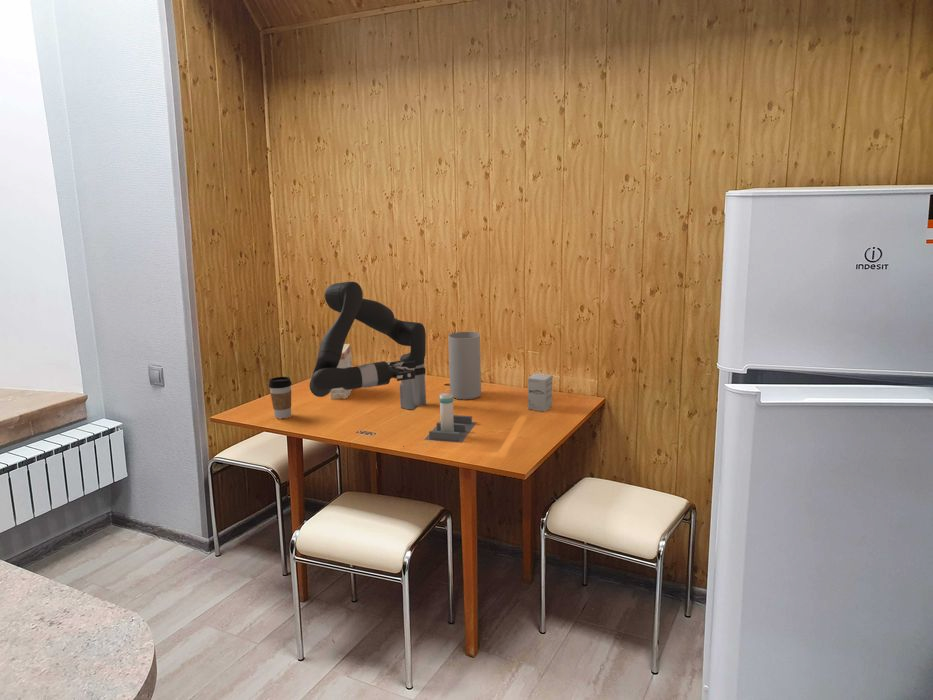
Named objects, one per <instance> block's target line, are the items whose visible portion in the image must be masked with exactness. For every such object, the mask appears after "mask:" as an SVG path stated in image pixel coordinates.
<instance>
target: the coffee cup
mask: <svg viewBox="0 0 933 700" xmlns="http://www.w3.org/2000/svg"><path fill="white" fill-rule="evenodd" d="M268 387H269V390H270V398H271V403H272V409H273V414H274V418H275V417H276V418H286V419H289V418H291V417H292V389H291V388H292V381H291V378H290V377H288V376H276V377H273V378H270V379H268ZM290 416H291V417H290ZM288 417H289V418H288ZM276 418H275V419H276Z"/></svg>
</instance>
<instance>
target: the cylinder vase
mask: <svg viewBox="0 0 933 700" xmlns="http://www.w3.org/2000/svg"><path fill="white" fill-rule="evenodd" d="M447 338H448V361H449V362H448V363H449V364H448V365H449V391H450V392H449V393H452V394H453V399H455V398H456V400H461V399H462V400H464V401H465V400H466V401H467V399H468V400H474V399H477V398H479V397H481V395H482V371H481V370H482V369H481V368H482V367H481V363H482V361H481V334H480V333H478V332H475V331H457V332H451V333H449V334H448V337H447Z"/></svg>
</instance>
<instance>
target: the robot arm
mask: <svg viewBox="0 0 933 700" xmlns="http://www.w3.org/2000/svg"><path fill="white" fill-rule="evenodd" d="M363 293H364V291H363V289H362V287H361V285H360V284H359V283H358V282H357V281H343V282H335V283H333V284H330V285H329V286H327V288H325V291H324V299H325V303H326V304H327V306H328V307H329V308H330V309H331V310H333V311H334V312H338V313H339V315H338V317H337V319H336V320H335V322H334V323H333V324H332V325H331V327H329V329H328V331H326V333H325V335H324V336H323V338H322V340H321V342H320V347H319V349H318V354H317V359H316V363H315V366H314V369H313V372H312V376H311V379H310V381H309V390H310V391H311V393H312V395H314V396H315V397H318V398H323V397H325V396H328V395H329V394H331V393H330V391H331V390H332V389H334V388H343V389H345V390H351V389H353V390H356V389H362V388H363V389H366V388H372V387H380V386H386V385H389V384H390V382H391V379H394V380H395V379H396V381H397V382H400V383H399V399H400V401H399V402H400V403H399V404H400V408H402V409H406V410H416V409H417V408H419V407H420V406H423V407H425V406H427V393H426V391H427V389H426V386H427V385H426V373H427V372H426V367H425V365H426V364H425V357H426V351H427V349H426V348H427V347H426V340H427V339H426V338H427V337H426V334H427V333H426V329H425V325H424V324H423V323H421V322H415V321H405V320H401V319H397V318H395V314H394V312H393V311H392V310H391V308H389V307H388V306H386V305H384V304H383V303H382V302H378V301H376V300H372V299H367V298H363V297H364V295H363ZM355 320H356V321H358V322H360V323H362V324H364V325H366V326H367V327H369V328H371V329H372V330H375V331H377V332H379V333H382V334H383V335H386V336H388V337H389V338H390V339H392V340H393V341H394V342H395V343H396V344H398V345H399V346H400V345H401V346H406V347H410V351H409V352H408V353H405V354H402V355H401V356H400V357H399V360H396V361H389V362H387V361H385V360H384V361H378V362H377V361H376V362H370V363H365V364H361V365H356V366H352V367H348V368H337V366H338V364H339V361H340V358H341V354H342V350H343V346H344V344H346V339H347V338H348V335H349V332H350V329H351V328H352V326H353V324H354V321H355Z"/></svg>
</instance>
